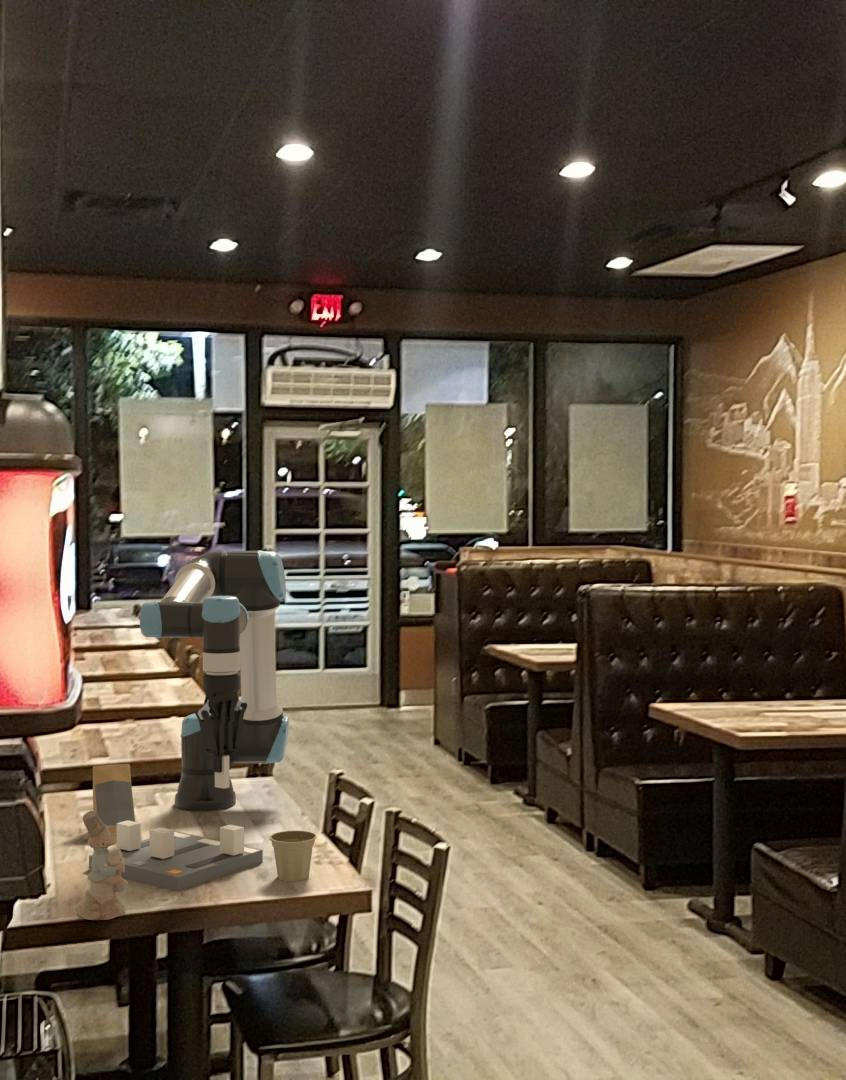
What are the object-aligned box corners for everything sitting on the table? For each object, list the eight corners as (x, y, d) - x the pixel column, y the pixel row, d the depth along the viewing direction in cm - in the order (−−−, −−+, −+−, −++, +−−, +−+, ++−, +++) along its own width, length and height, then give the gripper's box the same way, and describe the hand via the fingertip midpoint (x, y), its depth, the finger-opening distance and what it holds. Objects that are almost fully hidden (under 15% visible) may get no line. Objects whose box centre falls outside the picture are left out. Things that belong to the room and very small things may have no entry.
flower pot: (270, 872, 258) (270, 830, 257) (317, 871, 258) (317, 829, 258) (268, 886, 248) (268, 842, 248) (316, 885, 249) (316, 841, 249)
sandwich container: (99, 847, 277) (98, 779, 277) (92, 830, 292) (92, 765, 291) (138, 843, 280) (138, 776, 280) (130, 827, 294) (130, 763, 294)
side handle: (127, 844, 266) (127, 820, 266) (140, 847, 264) (140, 823, 264) (116, 848, 264) (116, 823, 264) (129, 851, 261) (129, 826, 261)
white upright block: (230, 849, 263) (230, 824, 263) (244, 852, 260) (244, 827, 260) (219, 852, 260) (219, 827, 260) (234, 855, 258) (233, 830, 258)
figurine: (78, 925, 225) (77, 814, 225) (77, 911, 233) (76, 803, 233) (129, 920, 228) (128, 810, 227) (126, 906, 236) (125, 800, 235)
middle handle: (160, 852, 260) (160, 827, 260) (174, 855, 258) (174, 830, 258) (149, 855, 258) (149, 830, 258) (163, 858, 256) (163, 833, 255)
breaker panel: (175, 844, 279) (175, 830, 279) (262, 863, 264) (262, 848, 263) (88, 870, 259) (88, 854, 259) (177, 892, 244) (177, 876, 244)
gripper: (230, 667, 264) (231, 778, 265) (184, 674, 254) (185, 790, 255) (257, 670, 260) (257, 783, 261) (211, 677, 249) (212, 795, 250)
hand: (222, 787), depth 258 cm, fingers closed
